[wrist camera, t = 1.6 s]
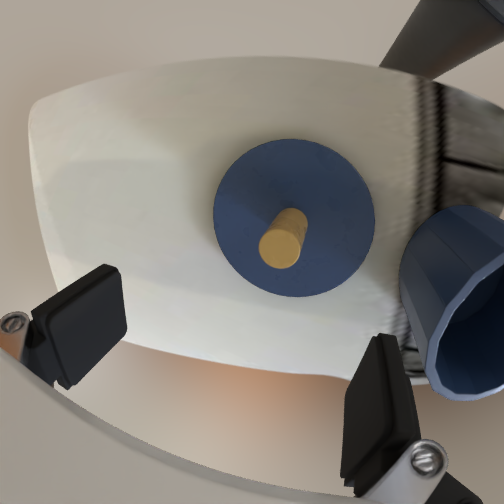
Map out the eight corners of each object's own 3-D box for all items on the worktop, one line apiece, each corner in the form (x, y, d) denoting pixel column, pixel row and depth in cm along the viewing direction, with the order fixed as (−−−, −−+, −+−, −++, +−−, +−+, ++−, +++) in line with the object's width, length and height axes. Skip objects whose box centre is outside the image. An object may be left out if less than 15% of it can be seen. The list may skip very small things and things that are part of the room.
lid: (226, 129, 21) (187, 126, 15) (387, 158, 18) (412, 164, 13) (212, 272, 26) (178, 310, 20) (350, 304, 23) (352, 354, 17)
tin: (420, 188, 18) (477, 221, 10) (520, 224, 16) (583, 267, 8) (380, 315, 23) (394, 396, 14) (476, 332, 21) (509, 400, 12)
